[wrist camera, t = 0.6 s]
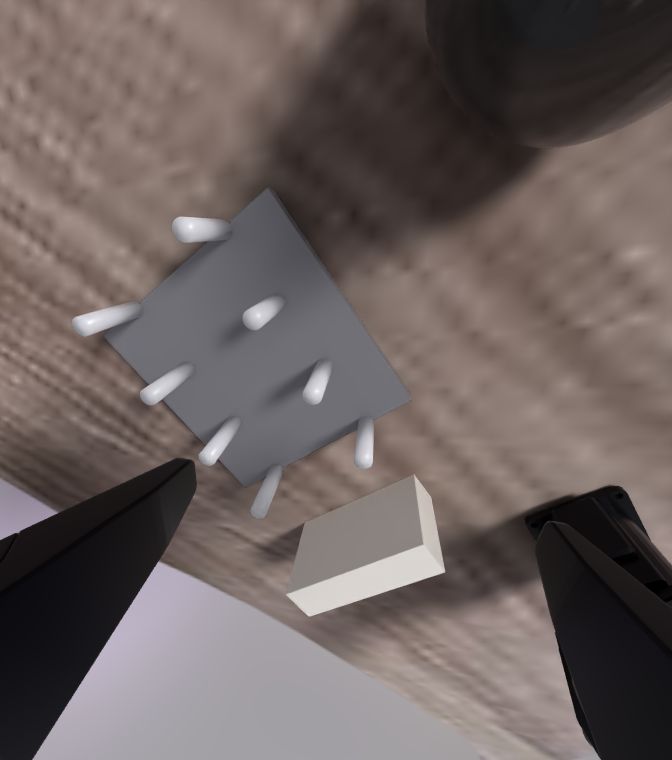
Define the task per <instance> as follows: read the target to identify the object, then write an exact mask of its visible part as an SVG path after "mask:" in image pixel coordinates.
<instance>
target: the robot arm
mask: <svg viewBox="0 0 672 760" xmlns="http://www.w3.org/2000/svg"><path fill="white" fill-rule="evenodd" d="M196 486H197V482H196V472H195V464H194V461H192V460H190V459H184V458H176V459H174V460H172V461H169V462H167V463H165V464H163V465H161V466H159V467H157V468H154V469H152V470H150V471H148V472H146V473H144V474H142V475H139V476H137V477H135V478H133V479H131V480H129V481H126V482H124V483H122V484H120V485H118V486H116V487H114V488H111V489H109V490H107V491H105V492H103V493H101V494H99V495H96V496H94V497H92V498H90V499H88V500H86V501H83V502H81V503H79V504H77V505H75V506H73V507H71V508H68V509H66V510H64V511H62V512H60V513H58V514H55V515H53V516H51V517H49V518H47V519H45V520H43V521H40V522H38V523H36V524H34V525H32V526H30V527H27V528H25V529H23V530H21V531H20V533H19V534H18V533H15V534H12V535H10V536H8V537H6V538H4V539H2V540H0V760H32V759H33V758H34V756H35V755H36V753H37V751H38V750H39V748H40V746H41V745H42V743H43V742H44V740H45V739H46V737H47V736H48V734H49V732H50V731H51V729H52V728H53V726H54V725H55V723H56V721H57V720H58V718H59V717H60V715H61V714H62V712H63V711H64V709H65V707H66V706H67V704H68V703H69V701H70V700H71V698H72V696H73V694H74V693H75V692H76V690H77V688H78V687H79V685H80V684H81V682H82V681H83V679H84V677H85V676H86V674H87V673H88V671H89V670H90V668H91V666H92V665H93V663H94V662H95V660H96V659H97V657H98V655H99V654H100V652H101V651H102V649H103V648H104V646H105V644H106V643H107V641H108V640H109V638H110V636H111V635H112V633H113V632H114V630H115V629H116V627H117V626H118V624H119V622H120V621H121V619H122V618H123V616H124V615H125V613H126V611H127V610H128V608H129V607H130V605H131V604H132V602H133V600H134V599H135V597H136V596H137V594H138V592H139V591H140V589H141V588H142V586H143V585H144V583H145V582H146V580H147V578H148V577H149V575H150V574H151V572H152V570H153V569H154V567H155V566H156V564H157V563H158V561H159V560H160V558H161V556H162V555H163V553H164V551H165V550H166V548H167V546H168V545H169V543H170V541H171V539H172V537H173V535H174V533H175V531H176V529H177V527H178V525H179V523H180V521H181V519H182V517H183V515H184V513H185V511H186V509H187V507H188V505H189V503H190V501H191V499H192V498H193V496H194V493H195V491H196ZM616 494H617V495H616ZM525 524H526V526H527V528H528V529H529V531H530V532H531V534H532V535H533V537H534V539H535V540H536V545H535V556H536V560H537V564H538V568H539V572H540V576H541V580H542V584H543V588H544V592H545V596H546V600H547V604H548V608H549V612H550V615H551V619H552V622H553V625H554V628H555V631H556V632H555V635H556V638H557V642H558V646H559V652H560V656H561V660H562V664H563V668H564V672H565V676H566V679H567V683H568V687H569V691H570V695H571V699H572V702H573V706H574V710H575V714H576V718H577V720H578V722H579V724H580V726H581V728H582V731H583V734H584V736H585V738H586V740H587V741H588V743H589V744H590V745H591V746H593V748H594V749H595V751H596V753H597V754H598V756H599V757H600V759H601V760H672V565H671V564H670V563H669V561H668V560H667V559H666V558H665V557H664V556H663V555H662V553H661V552H660V551H659V550H658V549H657V548H656V546H655V545H654V544H653V543H652V542H651V540H650V538H649V536H648V534H647V532H646V530H645V528H644V526H643V524H642V522H641V520H640V518H639V516H638V514H637V512H636V510H635V508H634V506H633V504H632V502H631V500H630V498H629V495H628V493H627V492H626V491H625V490H624V489H623V488H622V487H620V486H614V487H610V488H608V489H605V490H602V491H599V492H596V493H593V494H591V495H588V496H585V497H582V498H579V499H576V500H574V501H571V502H568V503H565V504H562V505H559V506H557V507H554V508H551V509H548V510H545V511H542V512H540V513H537V514H534V515H531V516H529V517H527V518H526V519H525Z"/></svg>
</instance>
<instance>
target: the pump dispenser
mask: <svg viewBox="0 0 672 760" xmlns="http://www.w3.org/2000/svg"><path fill="white" fill-rule="evenodd" d="M424 12H425V22H426V30H427V36H428V41H429V45H430V49H431V53H432V56H433V60H434V63H435V66H436V68H437V71H438V73H439V76H440V78H441V80H442V82H443V84H444V86H445V88H446V90H447V92H448V93H449V95H450V96H451V98H452V100H453V101H454V102H455V104H456V105H457V106H458V108H459V109H460V110H461V111H462V112H463V113H464V114H465V116H466V117H467V118H469V119H470V120H471V121H472V122H473V123H474V124H475V125H476V126H478V127H479V128H480V129H482V130H483V131H485V132H486V133H488V134H490V135H492V136H493V137H496V138H498V139H500V140H502V141H505V142H508V143H511V144H514V145H518V146H523V147H529V148H560V147H567V146H573V145H577V144H581V143H585V142H588V141H592V140H595V139H598V138H600V137H603V136H605V135H608V134H611V133H613V132H615V131H617V130H620V129H622V128H624V127H626V126H628V125H630V124H632V123H634V122H636V121H638V120H640V119H642V118H644V117H646V116H648V115H650V114H651V113H653V112H655V111H656V110H658V109H660V108H662V107H663V106H665V105H667V104H668V103H670V102H671V101H672V0H424Z"/></svg>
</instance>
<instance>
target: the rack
mask: <svg viewBox="0 0 672 760" xmlns="http://www.w3.org/2000/svg"><path fill="white" fill-rule="evenodd" d="M172 230H173V233H174V235H175V237H176V238H177V239H178V240H179V241H181V242H184V243H188V242H203V241H208V242H206V243H205V244H204V245H203V246H202V247H201V248H200V249H199V250H198V251H197V252H195V253H194V254H193V255H192V256H191V257H190V258H189V259H188V260H187V261H185V262H184V263H183V264H182V265H181V266H180V267H179V268H178V269H177V270H175V271H174V272H173V273H172V274H171V275H170V276H169V277H168V278H167V279H165V280H164V281H163V282H162V283H161V284H160V285H159V286H158V287H157V288H155V289H154V290H153V291H152V292H151V293H150V294H149V295H148V296H147V297H145V298H144V299H143V300H142V301H141V302H140V303H138V302H136V301H130V302H126V303H123V304H119V305H116V306H112V307H109V308H105V309H102V310H98V311H95V312H91V313H88V314H84V315H81V316H78V317H75V318H74V319H73V320H72V326H73V328H74V330H75V331H76V332H77V333H78V334H79V335H81V336H89V335H91V334H94V333H97V332H100V331H102V330H105V329H108V328H111V327H112V328H111V329H110V330H109V331H108V332H107V333H106V334H104V335H103V336H104V338H105V339H106V340H107V341H108V342H109V343H110V344H111V345H112V346H113V347H114V348H115V349H116V350H117V351H118V352H119V354H120V355H121V356H122V357H123V358H124V359H125V360H126V361H127V362H128V363H129V364H130V365H131V366H132V367H133V368H134V370H135V371H136V372H137V373H138V374H139V375H140V376H141V377H142V378H143V379H144V380H145V381H146V382H147V383H148V384H149V386H147V387H146V388H144V389H143V390H141V392H140V398H141V400H142V401H143V402H144V403H145V404H147V405H155V404H156V403H158V402H159V401H160V400H162V399H163V400H164V402H165V403H166V404H167V405H168V406H169V407H170V408H171V409H172V410H173V411H174V412H175V413H176V414H177V415H178V416H179V418H180V419H181V420H182V421H183V422H184V423H185V424H186V425H187V426H188V427H189V428H190V429H191V430H192V431H193V432H194V434H195V435H196V436H197V437H198V438H199V439H200V440H201V441H202V442H203V443H204V444H205V445H206V446H205V448H204V449H203V450H202V451H201V453H200V454H199V460H200V461H201V462H202V463H203V464H205V465H208V466H211V465H213V464H214V463H215V462H216V461H217V459H219V460H220V461H221V462H222V463H223V464H224V466H225V467H226V468H227V469H228V470H229V471H230V472H231V473H232V474H233V475H234V476H235V477H236V478H237V479H238V480H239V482H240V483H241V484H242V485H243V486H244V487H245V488H246V487H248V486H250V485H251V484H253V483H255V482H257V481H259V480H261V479H263V478H265V480H264V482H263V484H262V486H261V488H260V490H259V492H258V495H257V497H256V499H255V501H254V503H253V505H252V507H251V510H250V512H251V514H252V516H254V517H255V518H259V519H261V518H264V517H265V516H266V514H267V512H268V509H269V507H270V504H271V502H272V499H273V497H274V494H275V492H276V489H277V487H278V484H279V482H280V479H281V477H282V474H283V472H284V470H283V468H284V467H286V466H288V465H289V464H291V463H293V462H295V461H297V460H299V459H301V458H303V457H305V456H307V455H309V454H310V453H312V452H314V451H316V450H318V449H320V448H322V447H324V446H326V445H328V444H329V443H331V442H333V441H335V440H337V439H339V438H341V437H343V436H345V435H347V434H348V433H350V432H352V431H354V430H356V429H357V438H356V447H355V455H354V464H355V465H356V466H357V467H358V468H360V469H368V468H370V467H371V466H372V463H373V437H374V420H375V419H377V418H379V417H381V416H383V415H385V414H386V413H388V412H390V411H392V410H394V409H396V408H398V407H400V406H402V405H404V404H405V403H407V402H409V401H411V397H410V393H409V391H408V390H407V388H406V387H405V385H404V384H403V382H402V381H401V379H400V378H399V376H398V375H397V373H396V372H395V370H394V369H393V367H392V366H391V364H390V363H389V361H388V360H387V359H386V357H385V356H384V354H383V353H382V351H381V350H380V348H379V347H378V345H377V344H376V342H375V341H374V339H373V338H372V336H371V335H370V333H369V332H368V330H367V329H366V327H365V326H364V324H363V323H362V321H361V320H360V318H359V317H358V315H357V314H356V312H355V311H354V309H353V308H352V306H351V305H350V303H349V302H348V300H347V299H346V297H345V296H344V294H343V293H342V291H341V290H340V288H339V287H338V285H337V284H336V282H335V281H334V279H333V278H332V276H331V275H330V273H329V272H328V270H327V269H326V268H325V266H324V265H323V263H322V262H321V260H320V259H319V257H318V256H317V254H316V253H315V251H314V250H313V248H312V247H311V245H310V244H309V242H308V241H307V239H306V238H305V236H304V235H303V233H302V232H301V230H300V229H299V227H298V226H297V224H296V223H295V221H294V220H293V218H292V217H291V215H290V214H289V212H288V211H287V209H286V208H285V206H284V205H283V203H282V202H281V200H280V199H279V197H278V196H277V194H276V193H275V191H274V190H273V189H270V188H266V189H265V190H264V191H263V192H262V193H261V194H260V195H259V196H258V197H256V198H255V199H254V200H253V201H252V202H251V203H250V204H249V205H248V206H246V207H245V208H244V209H243V210H242V211H241V212H240V213H239V214H238V215H236V216H235V217H234V218H233V219H232V220H231V221H230V222H228V221H227V220H224V219H209V218H194V217H178V218H176V219H175V220H174V222H173V224H172Z"/></svg>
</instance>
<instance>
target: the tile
mask: <svg viewBox="0 0 672 760" xmlns="http://www.w3.org/2000/svg"><path fill="white" fill-rule="evenodd" d="M442 573H445V568H444V563H443V558H442V553H441V547H440V542H439V537H438V531H437V526H436V521H435V515H434V510H433V505H432V500H431V497H430V496H429V494H428V493H427V492H426V490H425V489H424V487H423V486H422V485H421V483H420V482H419V481H418V479H417V478H416V476H415V475H414V474H413V475H411V476H409V477H407V478H404V479H402V480H400V481H398V482H395V483H393V484H391V485H389V486H386V487H384V488H382V489H380V490H377V491H375V492H373V493H371V494H368V495H366V496H364V497H362V498H359V499H357V500H355V501H353V502H350V503H348V504H346V505H343V506H341V507H339V508H337V509H334V510H332V511H330V512H328V513H325V514H323V515H321V516H319V517H316V518H314V519H312V520H310V521H307V522H305V523H304V527H303V531H302V535H301V539H300V543H299V546H298V550H297V554H296V558H295V562H294V566H293V570H292V574H291V577H290V581H289V585H288V589H287V593H286V595H287V596H288V597H289V598H290V599H291V600H292V601H293V602H294V603H295V604H296V605H297V606H298V607H299V608H300V609H301V610H303V611H304V612H305V613H306V614H307V615H308V616H309V617H310V616H313V615H316V614H319V613H322V612H325V611H328V610H331V609H334V608H337V607H340V606H343V605H346V604H350V603H353V602H356V601H359V600H362V599H365V598H368V597H371V596H374V595H377V594H380V593H383V592H386V591H389V590H393V589H396V588H399V587H402V586H405V585H408V584H411V583H414V582H417V581H420V580H423V579H426V578H429V577H432V576H436V575H439V574H442Z"/></svg>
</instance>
